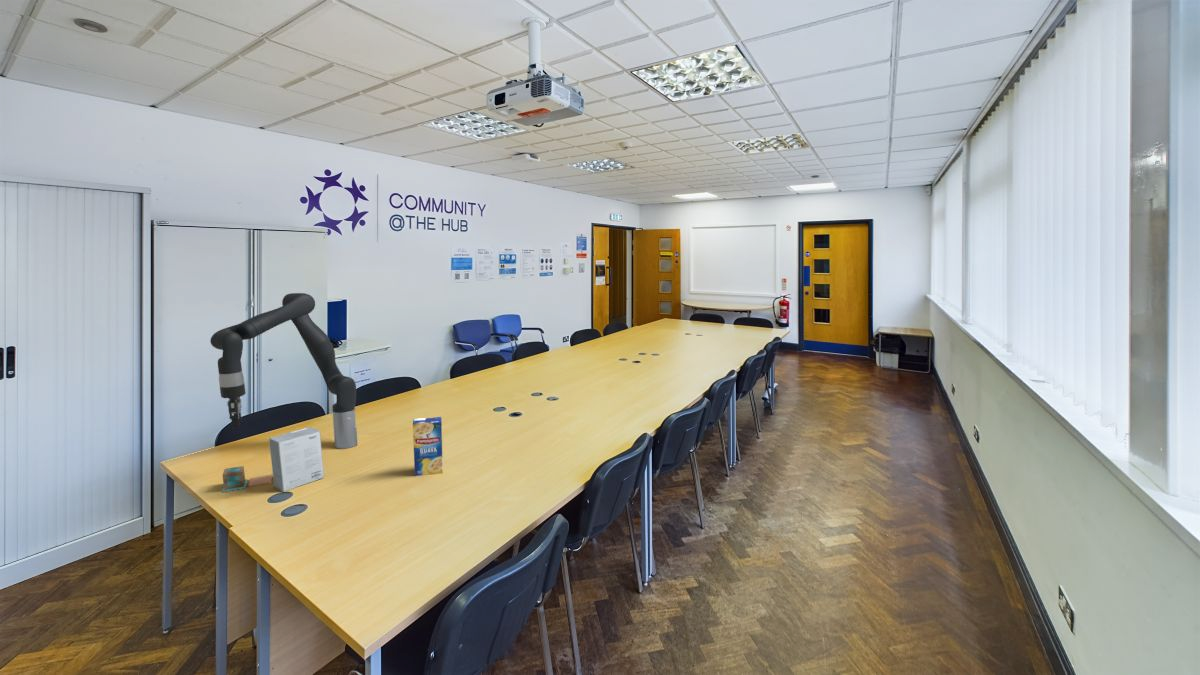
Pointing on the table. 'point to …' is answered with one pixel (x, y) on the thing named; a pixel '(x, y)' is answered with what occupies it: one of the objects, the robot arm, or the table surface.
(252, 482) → the pad terracotta
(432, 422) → the blue food box
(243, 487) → the pad teal
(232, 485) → the cube
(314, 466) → the hard drive box
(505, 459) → the table surface
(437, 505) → the table surface
